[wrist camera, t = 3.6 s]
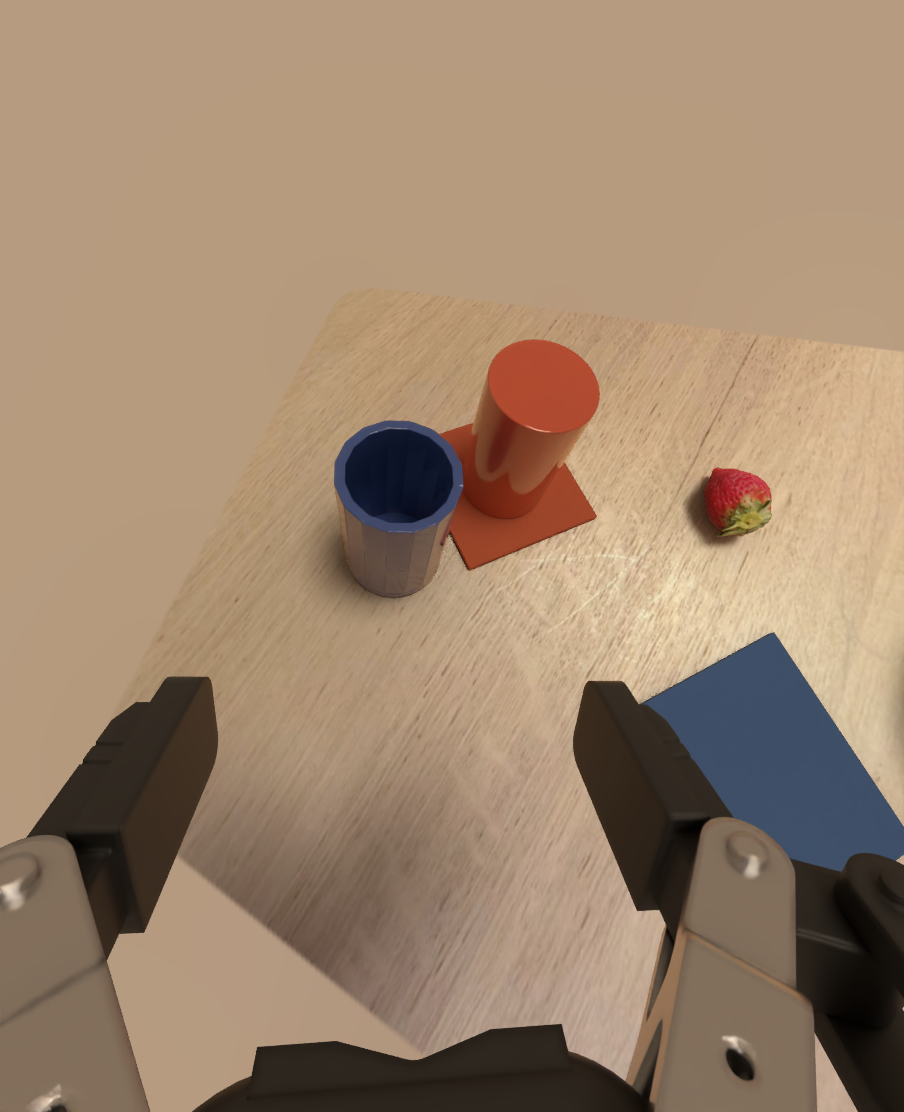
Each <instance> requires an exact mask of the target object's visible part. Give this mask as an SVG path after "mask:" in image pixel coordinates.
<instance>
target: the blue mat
mask: <svg viewBox="0 0 904 1112" xmlns="http://www.w3.org/2000/svg"><path fill="white" fill-rule="evenodd" d="M640 705H648V706H649V707H651V708H652V709H653V710H654V711H656V712H657V713H658V714H659V715H661V716H662V717H663V718H664V719H666V720H667V721H668V723H669V724H670V726H671V727H672V729H673V730H674V732H675V733H676V734H677V736H678V737H679V739H680V743H683V745H684V746H685V747H686V749H687V750H688V752H689V753H690V755H691V759H694V761H695V762H696V763H697V765H698V766H699V768H700V769H701V771H702V772H703V774H704V775H705V776H706V778H707V779H708V781H709V782H710V784H711V785H712V787H713V788H714V790H715V791H716V792H717V794H718V795H719V797H720V798H721V800H722V801H723V803H724V804H725V805H726V807H727V808H728V810H729V811H730V813H731V814H732V816H733V817H734V818H735V819H738V820H742V821H744V822H747V823H749V824H751V825H753V826H755V827H757V828H759V829H760V830H762V831H763V832H765V833H766V834H768V835H769V836H770V837H771V838H773V839H774V840H775V841H776V842H777V843H778V844H779V845H780V846H781V847H782V849H783V850H784V851H785V852H786V854H787V855H788V857H789V858H791V859H794V860H798V861H802V862H806V863H809V864H813V865H817V866H821V867H825V868H829V869H832V870H836V871H840V872H841V871H842V870H843V868H844V866H845V864H846V862H847V861H848V859H849V858H850V857H851V856H852V855H854V854H858V853H873V854H877V855H881V856H884V857H887V858H890V859H892V860H894V861H896V860H897V859H899V858H900V857H901V856H902V855H904V827H903V825H902V824H901V822H900V821H899V819H898V818H897V816H896V815H895V813H894V811H893V810H892V808H891V807H890V805H889V804H888V802H887V801H886V799H885V798H884V796H883V795H882V793H881V792H880V790H879V789H878V787H877V786H876V784H875V783H874V781H873V780H872V778H871V777H870V775H869V774H868V772H867V771H866V769H865V768H864V766H863V765H862V763H861V762H860V760H859V759H858V757H857V756H856V754H855V753H854V751H853V750H852V748H851V747H850V745H849V744H848V742H847V741H846V739H845V738H844V736H843V735H842V733H841V732H840V730H839V729H838V727H837V726H836V724H835V723H834V721H833V720H832V718H831V717H830V715H829V714H828V712H827V711H826V709H825V708H824V706H823V705H822V703H821V702H820V700H819V699H818V697H817V696H816V694H815V693H814V691H813V690H812V688H811V687H810V685H809V684H808V682H807V681H806V679H805V678H804V676H803V675H802V673H801V672H800V670H799V669H798V667H797V666H796V664H795V663H794V661H793V660H792V658H791V657H790V655H789V654H788V652H787V651H786V649H785V648H784V646H783V645H782V643H781V642H780V640H779V639H778V637H777V636H776V634H775V633H774V632H773V633H770V634H768V635H766V636H765V637H763V638H761V639H759V640H757V641H755V642H753V643H752V644H750V645H748V646H746V647H744V648H742V649H741V650H739V651H737V652H735V653H733V654H731V655H730V656H728V657H726V658H724V659H722V660H720V661H719V662H717V663H715V664H713V665H711V666H709V667H708V668H706V669H704V670H702V671H700V672H698V673H697V674H695V675H693V676H691V677H689V678H687V679H686V680H684V681H682V682H680V683H678V684H676V685H675V686H673V687H671V688H669V689H667V690H665V691H664V692H662V693H660V694H658V695H656V696H654V697H653V698H651V699H649V700H647V701H645V702H643V703H641V704H640Z"/></svg>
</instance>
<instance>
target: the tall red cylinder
mask: <svg viewBox="0 0 904 1112" xmlns="http://www.w3.org/2000/svg"><path fill="white" fill-rule="evenodd" d="M599 397H600V392H599V385H598V382H597V379H596V377H595V374H594V373H593V371H592V369H591V368H590V367H589V365H588V364H587V363H586V362H585V361H584V360H583V359H582V358H581V357H580V356H579V355H578V354H576V353H575V352H573V351H572V350H570V349H568V348H566V347H564V346H562V345H560V344H557V343H554V342H550V341H546V340H523V341H519V342H516V343H513V344H511V345H509V346H507V347H505V348H504V349H502V350H501V351H500V352H499V353H498V354H497V355H496V356H495V358H494V359H493V360H492V362H491V364H490V367H489V370H488V374H487V377H486V381H485V384H484V388H483V391H482V395H481V398H480V402H479V405H478V409H477V412H476V416H475V419H474V423H473V426H472V430H471V434H470V437H469V441H468V444H467V448H466V451H465V455H464V458H463V462H462V471H463V485H464V486H463V492H464V494H465V496H466V498H467V499H468V500H469V502H470V503H471V504H472V505H473V506H474V507H475V508H477V509H478V510H479V511H481V512H483V513H485V514H487V515H489V516H492V517H496V518H503V519H511V518H517V517H520V516H523V515H525V514H527V513H529V512H530V511H532V510H533V509H534V508H535V507H536V506H537V505H538V504H539V502H540V500H541V499H542V497H543V496H544V494H545V492H546V491H547V489H548V488H549V486H550V484H551V483H552V481H553V480H554V478H555V476H556V475H557V473H558V471H559V470H560V468H561V467H562V465H563V463H564V462H565V460H566V459H567V457H568V455H569V454H570V452H571V451H572V449H573V447H574V446H575V444H576V443H577V441H578V439H579V438H580V436H581V435H582V433H583V431H584V430H585V428H586V427H587V425H588V423H589V422H590V420H591V419H592V417H593V415H594V414H595V412H596V410H597V407H598V404H599Z"/></svg>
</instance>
